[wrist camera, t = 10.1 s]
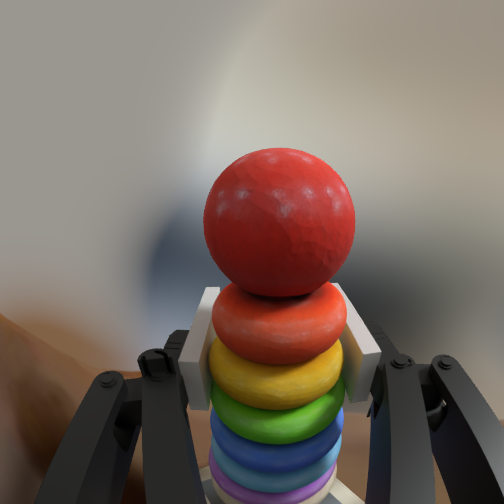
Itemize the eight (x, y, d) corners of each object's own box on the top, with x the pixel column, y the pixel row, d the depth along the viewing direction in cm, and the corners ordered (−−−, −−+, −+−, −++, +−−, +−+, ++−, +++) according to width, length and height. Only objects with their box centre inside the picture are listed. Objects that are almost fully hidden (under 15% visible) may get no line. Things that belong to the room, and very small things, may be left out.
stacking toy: (346, 509, 10) (462, 149, 5) (213, 526, 10) (85, 150, 4) (318, 425, 18) (341, 155, 12) (214, 436, 17) (171, 160, 12)
